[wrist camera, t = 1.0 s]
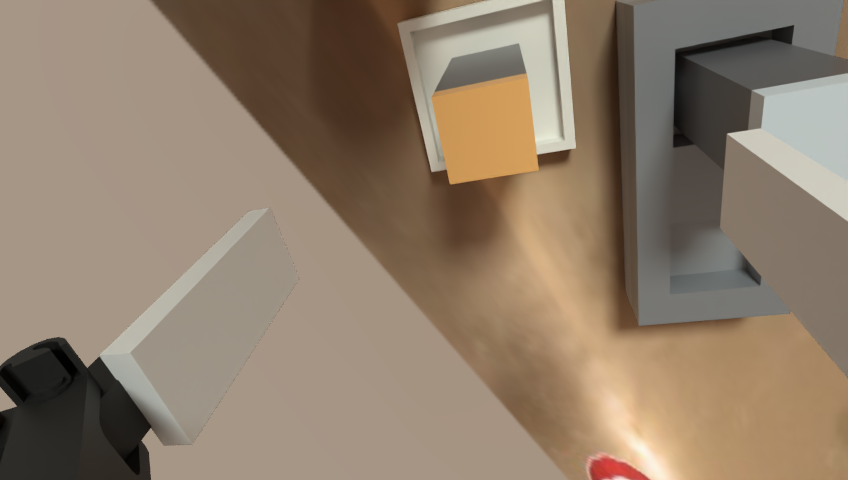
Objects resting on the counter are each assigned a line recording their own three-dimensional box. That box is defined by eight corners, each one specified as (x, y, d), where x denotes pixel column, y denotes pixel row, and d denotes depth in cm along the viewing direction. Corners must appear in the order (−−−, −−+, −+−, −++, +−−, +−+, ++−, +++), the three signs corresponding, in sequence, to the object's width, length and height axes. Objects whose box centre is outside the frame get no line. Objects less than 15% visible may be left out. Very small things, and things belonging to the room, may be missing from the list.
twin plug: (675, 52, 25) (764, 96, 17) (758, 36, 24) (898, 73, 16) (673, 124, 27) (753, 197, 19) (751, 111, 26) (873, 181, 18)
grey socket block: (616, 0, 26) (633, 6, 23) (801, -42, 24) (851, -44, 21) (625, 291, 36) (638, 325, 32) (760, 278, 33) (789, 313, 30)
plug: (451, 58, 28) (431, 97, 20) (519, 43, 27) (527, 78, 19) (463, 122, 30) (450, 184, 22) (527, 110, 29) (538, 170, 21)
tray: (401, 20, 28) (397, 23, 27) (559, -18, 26) (562, -18, 25) (434, 163, 33) (431, 171, 31) (572, 140, 30) (575, 148, 29)
